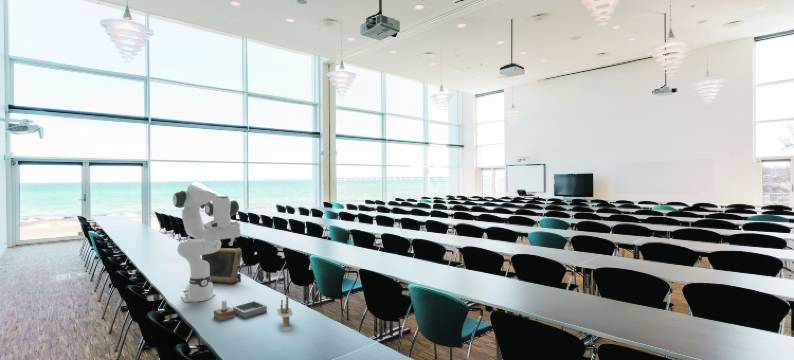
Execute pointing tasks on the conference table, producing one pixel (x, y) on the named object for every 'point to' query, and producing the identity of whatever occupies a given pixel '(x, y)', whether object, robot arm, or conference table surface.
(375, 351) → the conference table surface
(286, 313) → the architectural model
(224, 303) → the pin
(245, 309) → the gray tray
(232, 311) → the block
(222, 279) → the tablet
